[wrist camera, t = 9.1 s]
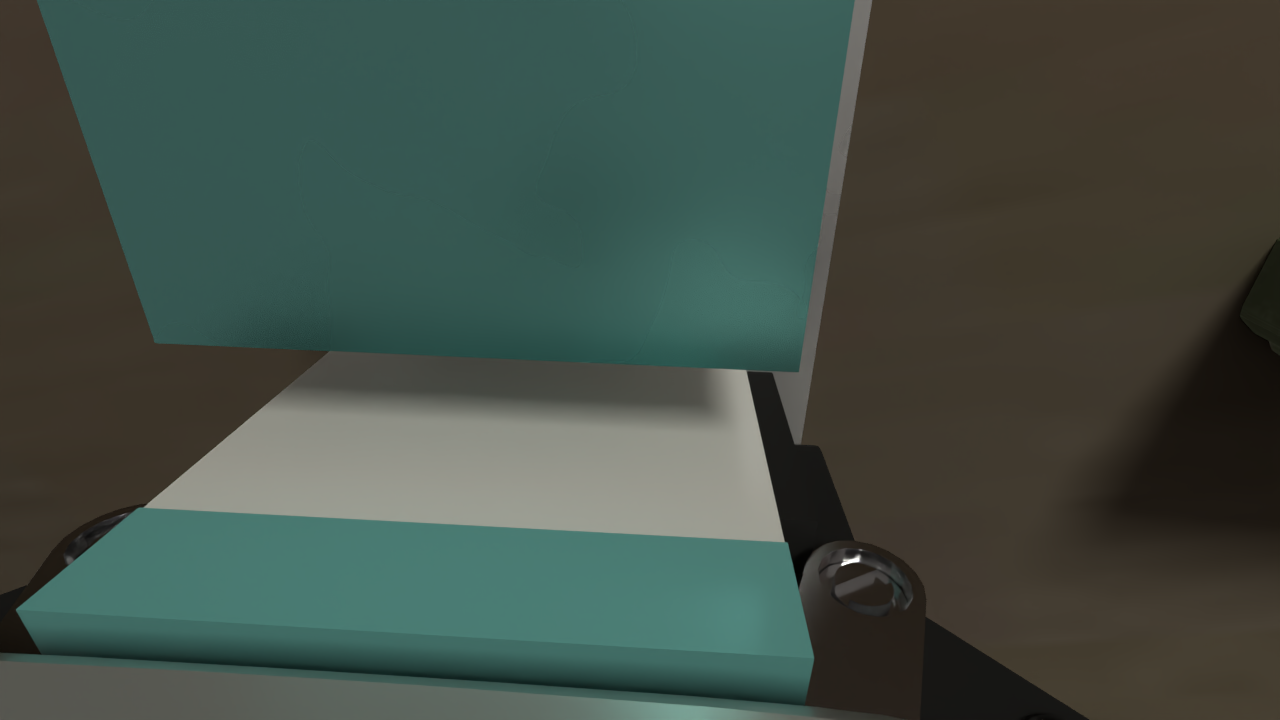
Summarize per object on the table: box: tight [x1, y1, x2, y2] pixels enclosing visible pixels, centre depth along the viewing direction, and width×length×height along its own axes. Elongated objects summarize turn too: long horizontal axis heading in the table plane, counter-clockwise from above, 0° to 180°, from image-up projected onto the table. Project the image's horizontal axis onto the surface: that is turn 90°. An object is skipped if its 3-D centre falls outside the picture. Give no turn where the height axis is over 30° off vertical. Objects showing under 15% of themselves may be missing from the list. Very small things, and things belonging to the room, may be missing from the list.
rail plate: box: [37, 0, 872, 445], centre depth 11 cm, size 16×10×8 cm, turn 179°
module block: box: [16, 351, 814, 706], centre depth 9 cm, size 4×6×7 cm
